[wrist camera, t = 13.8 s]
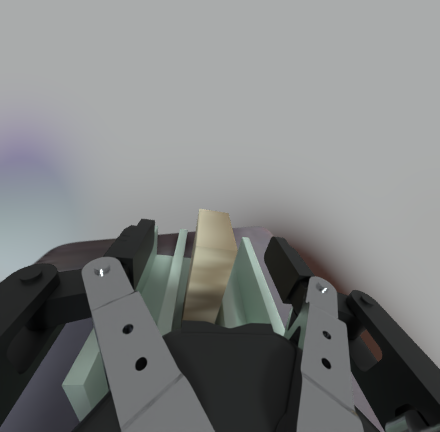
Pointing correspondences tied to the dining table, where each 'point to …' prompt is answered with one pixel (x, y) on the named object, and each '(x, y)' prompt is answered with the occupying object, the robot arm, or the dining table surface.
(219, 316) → the slotted rack
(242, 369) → the robot arm
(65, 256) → the dining table surface
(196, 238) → the tan wooden block
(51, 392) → the dining table surface
